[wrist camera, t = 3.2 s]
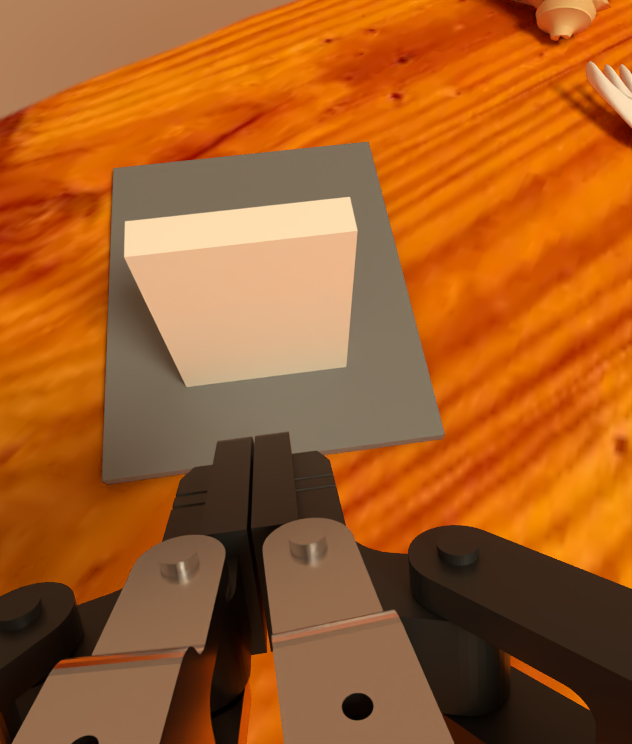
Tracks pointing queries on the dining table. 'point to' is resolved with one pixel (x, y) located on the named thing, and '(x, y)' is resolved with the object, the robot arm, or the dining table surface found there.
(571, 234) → the dining table surface
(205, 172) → the mat
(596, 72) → the spoon
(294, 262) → the tile
